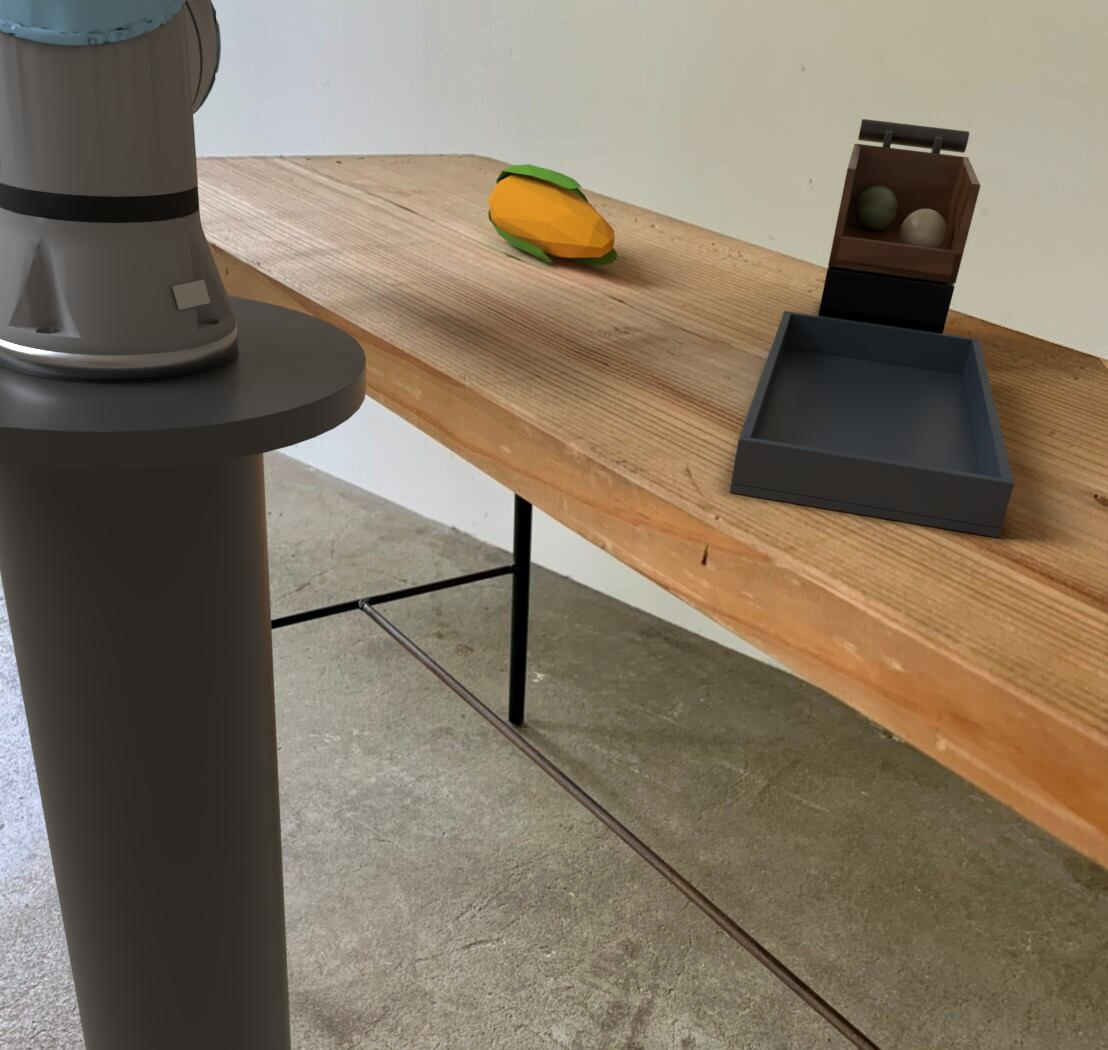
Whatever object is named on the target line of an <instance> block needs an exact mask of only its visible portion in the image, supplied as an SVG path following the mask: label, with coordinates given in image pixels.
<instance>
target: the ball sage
mask: <svg viewBox="0 0 1108 1050" xmlns="http://www.w3.org/2000/svg"><path fill="white" fill-rule="evenodd" d="M897 210H898V202H897V198H896V196H895V194H894V193H893V192H892V191H891V190H890V189H889V188H887V187H884V186H873V187H870V188H868V189H867V190H865V191H864V192H863V193H862V194H861V195H860V197H859V198H858V200H857V203H856V206H855V215H856V218H857V221H858V222H859V224H860V225H861V226H862V227H863V228H865V229H867V230H870V231H878V230H882V229H884V228H886V227H887V226H889V225H890V224H891V223H892V221H893V220H894V218H895V217H896V214H897Z"/></svg>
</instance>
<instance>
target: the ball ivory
mask: <svg viewBox="0 0 1108 1050" xmlns="http://www.w3.org/2000/svg"><path fill="white" fill-rule="evenodd" d="M946 233H947V227H946V223H945V220H944V218H943V217H942V216H941V215H940V214H939V213H938V212H937V211H935V210H932V209H919V210H916V211H914V212H913V213H911V214H910V215H909V216H908V217H907V218H906V219H905V220H904V222H903V224H902V226H901V229H900V235H899V237H900V243H901V244H907V245H915V246H922V247H930V248H937V249H940V247H941V246H942V245H943V243H944V241H945V238H946Z"/></svg>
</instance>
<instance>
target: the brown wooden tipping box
mask: <svg viewBox="0 0 1108 1050" xmlns="http://www.w3.org/2000/svg"><path fill="white" fill-rule="evenodd" d="M969 137H970V131H967V130H959V129H951V128H943V127H934V126H928V125H927V126H925V125H918V124H917V125H916V124H908V123H900V122H892V121H885V120H884V121H883V120H876V119H867V118H862V119H861V123H860V128H859V133H858V137H857V140H858V141H862V142H872V143H877V144H878V143H879V144H882V146H880V145H871V144H863V143H854V144H853V148H852V151H851V154H850V158H849V160H848V161H849V162H848V165H847V169H846V173H845V178H844V184H843V189H842V193H841V199H840V203H839V209H838V213H837V218H836V224H835V228H834V234H833V239H832V242H831V243H832V244H831V248H830V254H829V258H828V259H829V260H828V265H827V267H828V266H830V267H838V268H845V269H852V270H859V271H867V272H874V273H881V274H889V275H896V276H903V277H910V278H918V279H925V280H932V281H939V282H947V283H954V285H955V284H956V283H957V279H958V275H959V272H960V268H961V265H962V260H963V256H964V252H965V248H966V244H967V241H968V236H969V233H970V229H971V225H972V220H973V217H974V212H975V208H976V206H977V205H976V204H977V202H978V197H979V195H980V190H981V183H980V180H979V178H978V177H977V174H976V172H975V170H974V167H973V164H972V162H971V160H970V159H969V157H968V156H960V155H952V154H945V153H941V151H945V152H946V151H947V152H952V153H960V154H961V153H962V154H964V153H966V149H967V148H968V147H967V146H968V142H969ZM891 145H896V146H904V147H910V148H911V147H912V148H920V149H929V150H930V152H928V151H920V150H913V149H912V150H911V149H905V148H895V147H891ZM873 186H884V187H887V188H889V189H890V190H891V191H892V192H893V193H894V194H895V196H896V198H897V202H898V210H897V214H896V217H895V218H894V220H893V221H892V223H891V224H890V225H889V226H887V227H886V228H884V229H882V230H878V231H870V230H867V229H865V228H863V227H862V226H861V225H860V224H859V222H858V221H857V218H856V215H855V206H856V203H857V200H858V198H859V197H860V195H861V194H862V193H863V192H864V191H865V190H867V189H868V188H870V187H873ZM919 209H932V210H935V211H937V212H938V213H939V214H940V215H941V216H942V217H943V218H944V220H945V223H946V227H947V233H946V238H945V241H944V243H943V245H942V246H941V247H940V249H937V248H930V247H922V246H915V245H907V244H901V243H900V237H899V235H900V229H901V226H902V224H903V222H904V220H905V219H906V218H907V217H908V216H909V215H910V214H911V213H913V212H914V211H916V210H919Z"/></svg>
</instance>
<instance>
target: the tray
mask: <svg viewBox="0 0 1108 1050" xmlns="http://www.w3.org/2000/svg"><path fill="white" fill-rule="evenodd" d="M767 355H768V356H767V358H766V361H765V363H764V366H763V369H762V371H761V375H760V377H759V381H758V383H757V386H756V388H755V392H754V395H753V397H752V400H751V403H750V406H749V409H748V411H747V414H746V417H745V420H744V423H743V425H742V429H741V431H740V434H739V437H738V440H737V445H736V451H735V457H734V463H733V468H732V469H733V470H732V474H731V480H730V486H729V494H730V493H731V494H736V495H743V496H748V497H753V498H760V499H766V500H772V501H777V502H785V503H790V504H795V505H801V506H809V507H814V508H820V509H827V510H830V511H837V512H844V513H849V514H856V515H862V516H868V517H874V518H878V519H885V520H890V521H896V522H902V523H903V522H904V523H907V524H914V525H921V526H926V527H931V528H938V529H944V530H950V531H957V532H963V533H967V534H974V535H980V536H985V537H992V538H998V537H999V535H1000V532H1001V528H1002V525H1003V522H1004V519H1005V516H1006V513H1007V509H1008V505H1009V503H1010V499H1011V497H1012V493H1013V490H1014V486H1015V482H1014V477H1013V473H1012V469H1011V465H1010V461H1009V457H1008V453H1007V449H1006V445H1005V440H1004V436H1003V432H1002V427H1001V423H1000V419H999V414H998V411H997V407H996V401H995V398H994V394H993V391H992V386H991V382H990V378H989V374H988V369H987V365H986V360H985V357H984V353H983V347H982V345H981V339H980V338H975V337H969V336H961V335H954V334H948V333H943V334H941V333H935V332H928V331H921V330H914V329H907V328H900V327H893V326H886V325H879V324H872V323H865V322H858V321H851V320H844V319H837V318H831V317H824V316H818V315H815V314H808V313H802V312H797V311H796V312H795V311H788V310H784V311H783V313H782V316H781V319H780V321H779V324H778V327H777V330H776V333H775V336H774V339H773V341H772V344H771V346H770V350H769V353H768V354H767Z"/></svg>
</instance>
